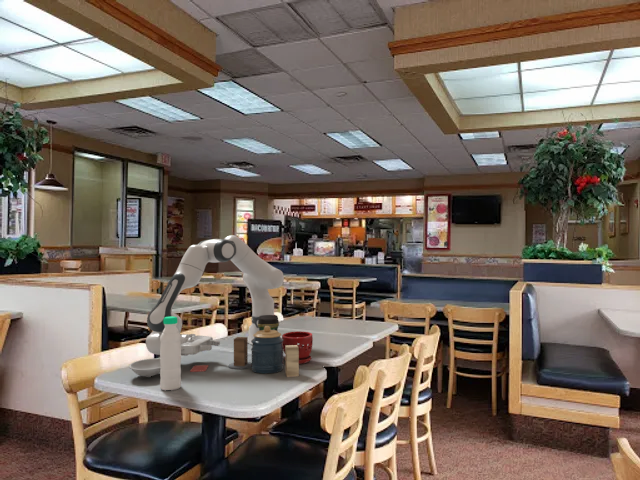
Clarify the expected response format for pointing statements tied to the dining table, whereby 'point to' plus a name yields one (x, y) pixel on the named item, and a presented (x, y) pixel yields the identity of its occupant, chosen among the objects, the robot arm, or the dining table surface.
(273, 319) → the coffee jar
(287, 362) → the maple block
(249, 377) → the dining table surface
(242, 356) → the walnut block
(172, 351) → the water bottle
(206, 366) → the menu card
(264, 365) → the canister
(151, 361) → the dish
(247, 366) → the slate coaster
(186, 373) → the dining table surface
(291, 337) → the plant pot
